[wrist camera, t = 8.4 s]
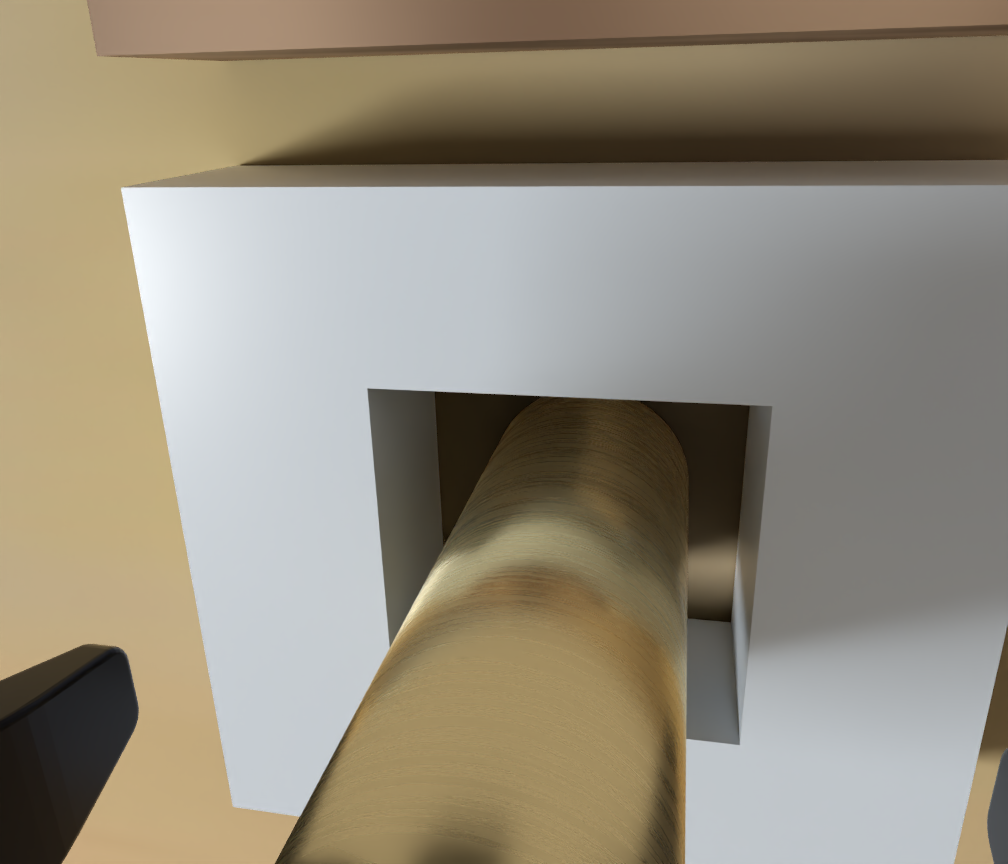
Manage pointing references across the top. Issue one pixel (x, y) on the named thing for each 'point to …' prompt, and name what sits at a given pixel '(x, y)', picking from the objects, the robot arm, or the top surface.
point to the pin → (532, 666)
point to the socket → (609, 375)
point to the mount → (509, 25)
